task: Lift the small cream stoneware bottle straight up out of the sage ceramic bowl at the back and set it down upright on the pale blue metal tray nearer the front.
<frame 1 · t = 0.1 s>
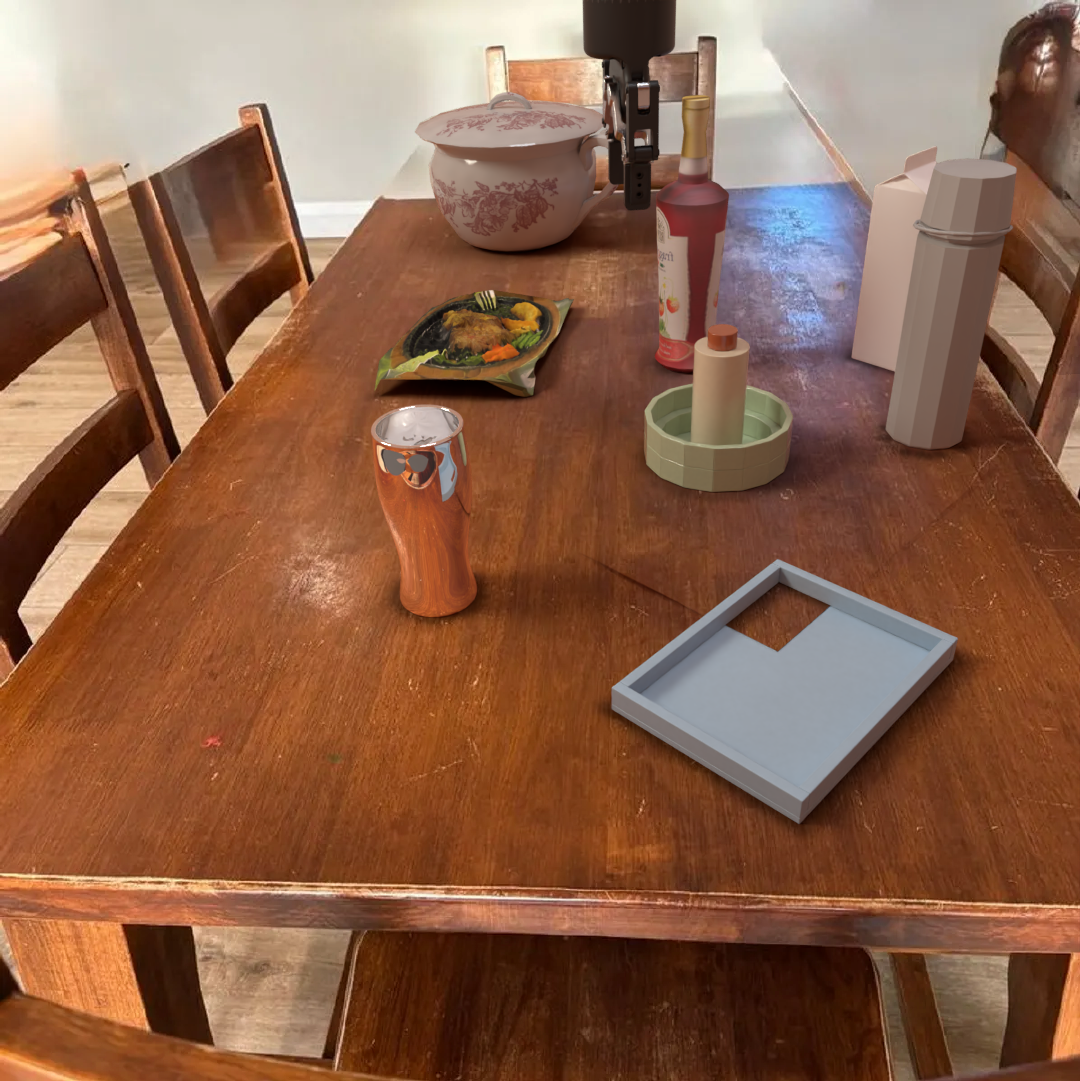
hand: (628, 195, 90), 23 cm above the table, tool pointing down, fingers open, 8 cm apart
liquor: (685, 368, 113), on the table
tray: (785, 684, 69), on the table
milk: (888, 359, 112), on the table
beer glass: (439, 596, 80), on the table
water bottle: (921, 434, 98), on the table
prepared meal: (479, 350, 120), on the table
chamber pot: (517, 240, 154), on the table
bottle: (715, 455, 95), point 1 cm above the table, touching bowl
bowl: (715, 460, 95), on the table
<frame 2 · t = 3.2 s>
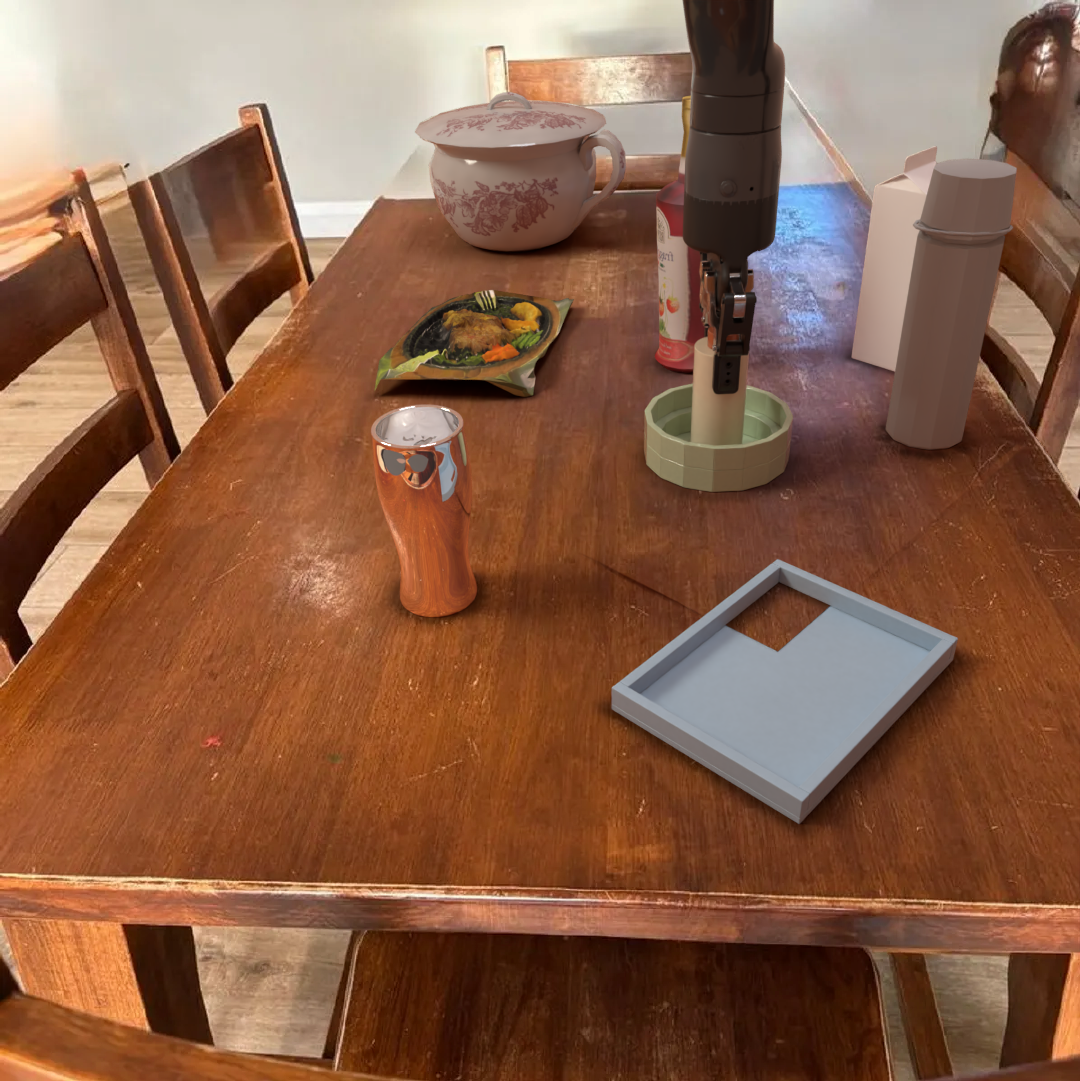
hand: (719, 378, 90), 8 cm above the table, tool pointing down, fingers closed on bottle, 4 cm apart
bottle: (715, 455, 95), point 1 cm above the table, touching bowl, gripper
everything else where it was.
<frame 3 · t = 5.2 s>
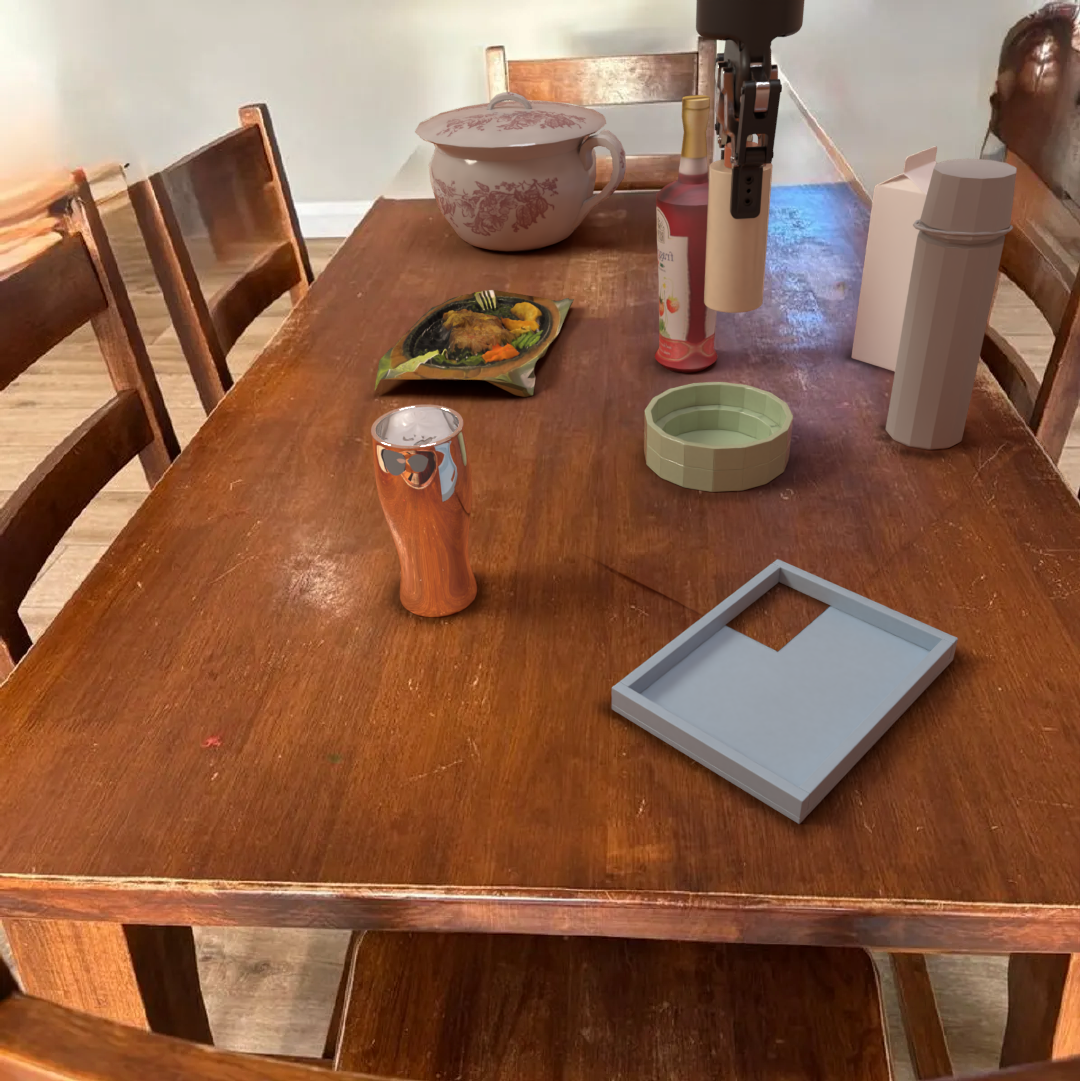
hand: (738, 206, 79), 24 cm above the table, tool pointing down, fingers closed on bottle, 4 cm apart
bottle: (733, 302, 84), point 17 cm above the table, touching gripper
everything else where it was.
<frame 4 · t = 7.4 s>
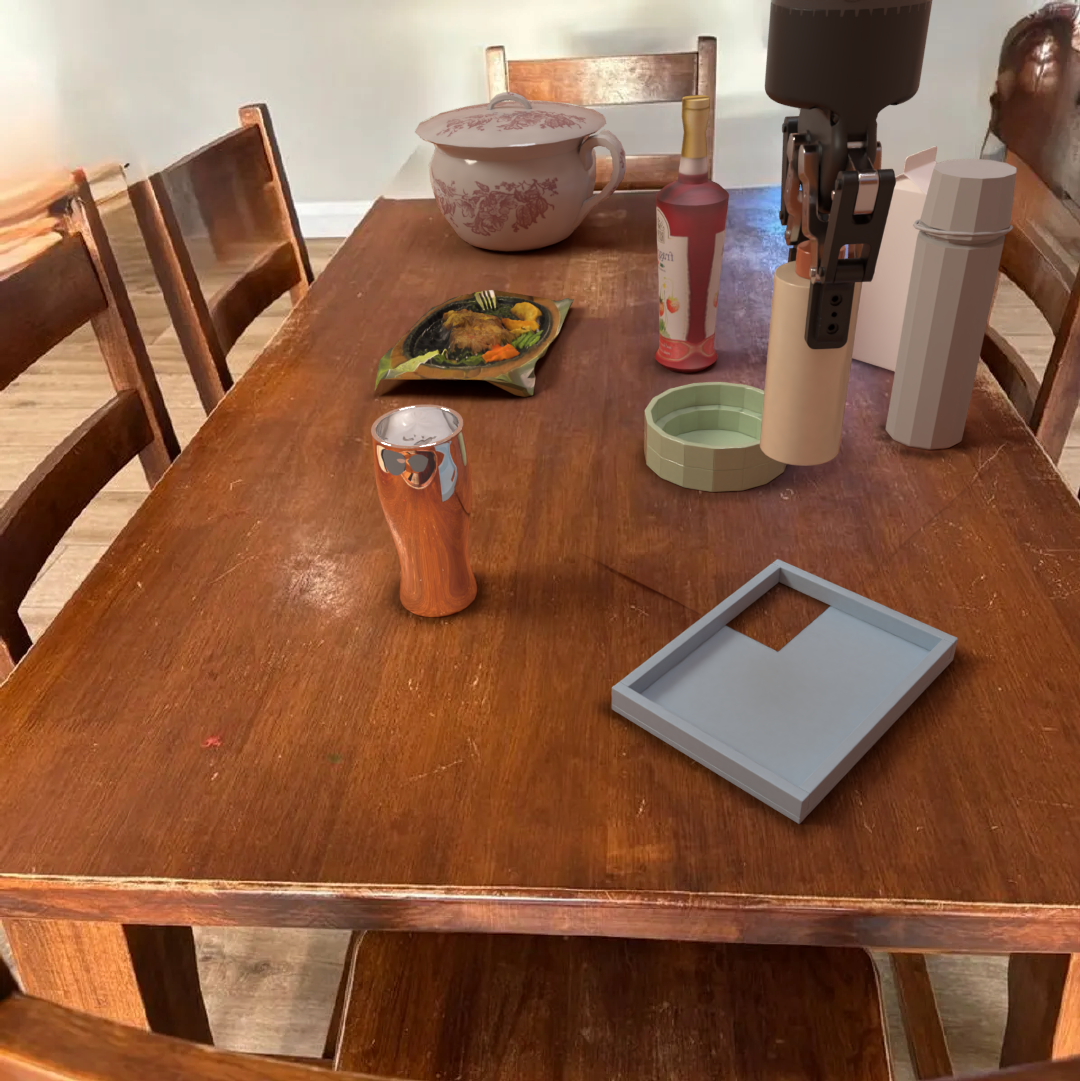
hand: (813, 326, 58), 25 cm above the table, tool pointing down, fingers closed on bottle, 4 cm apart
bottle: (799, 446, 62), point 17 cm above the table, touching gripper
everything else where it was.
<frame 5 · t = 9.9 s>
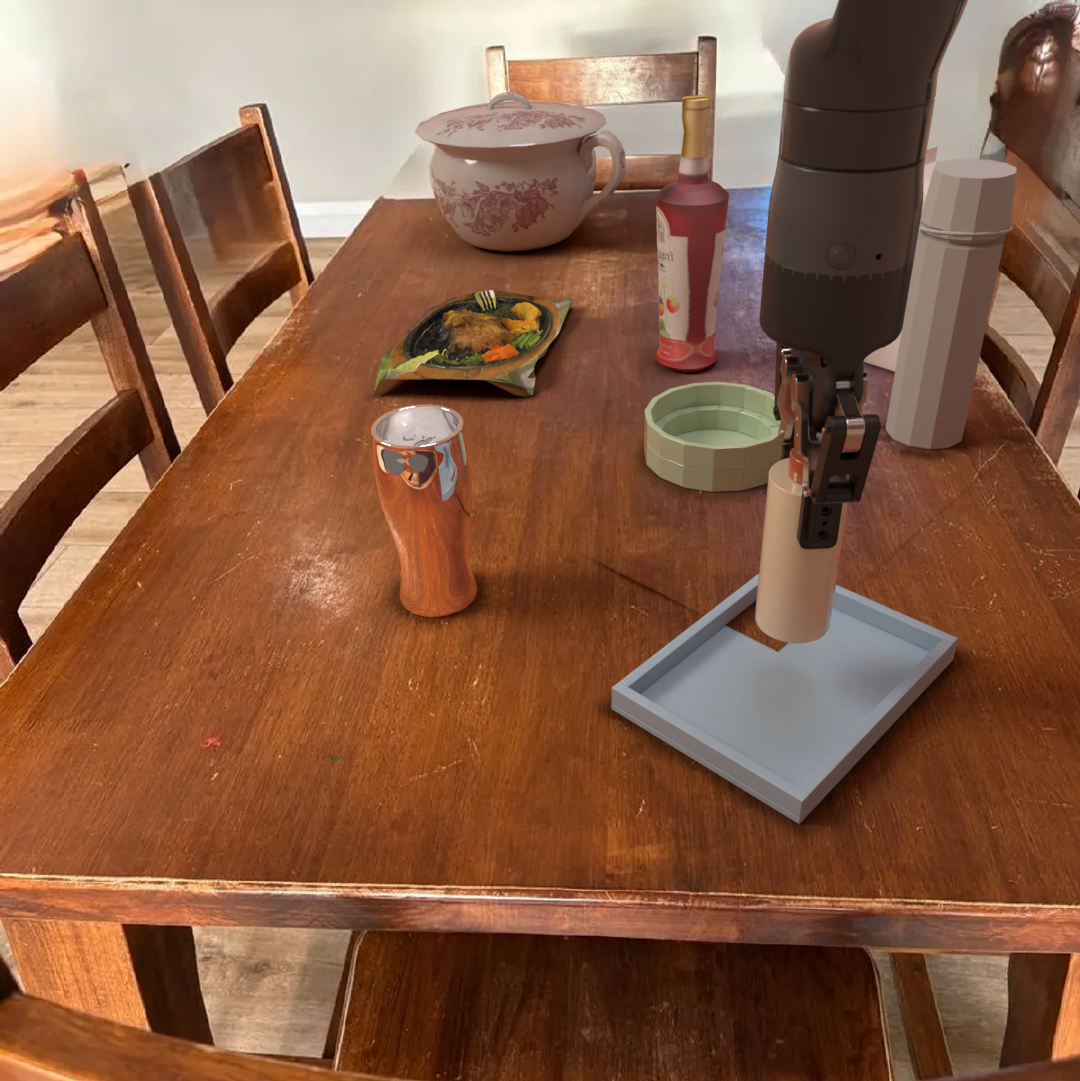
hand: (805, 519, 62), 13 cm above the table, tool pointing down, fingers closed on bottle, 4 cm apart
bottle: (792, 620, 66), point 6 cm above the table, touching gripper
everything else where it was.
when the fingers open (8 cm above the table, at t = 11.6 s): bottle stays where it is, resting on tray.
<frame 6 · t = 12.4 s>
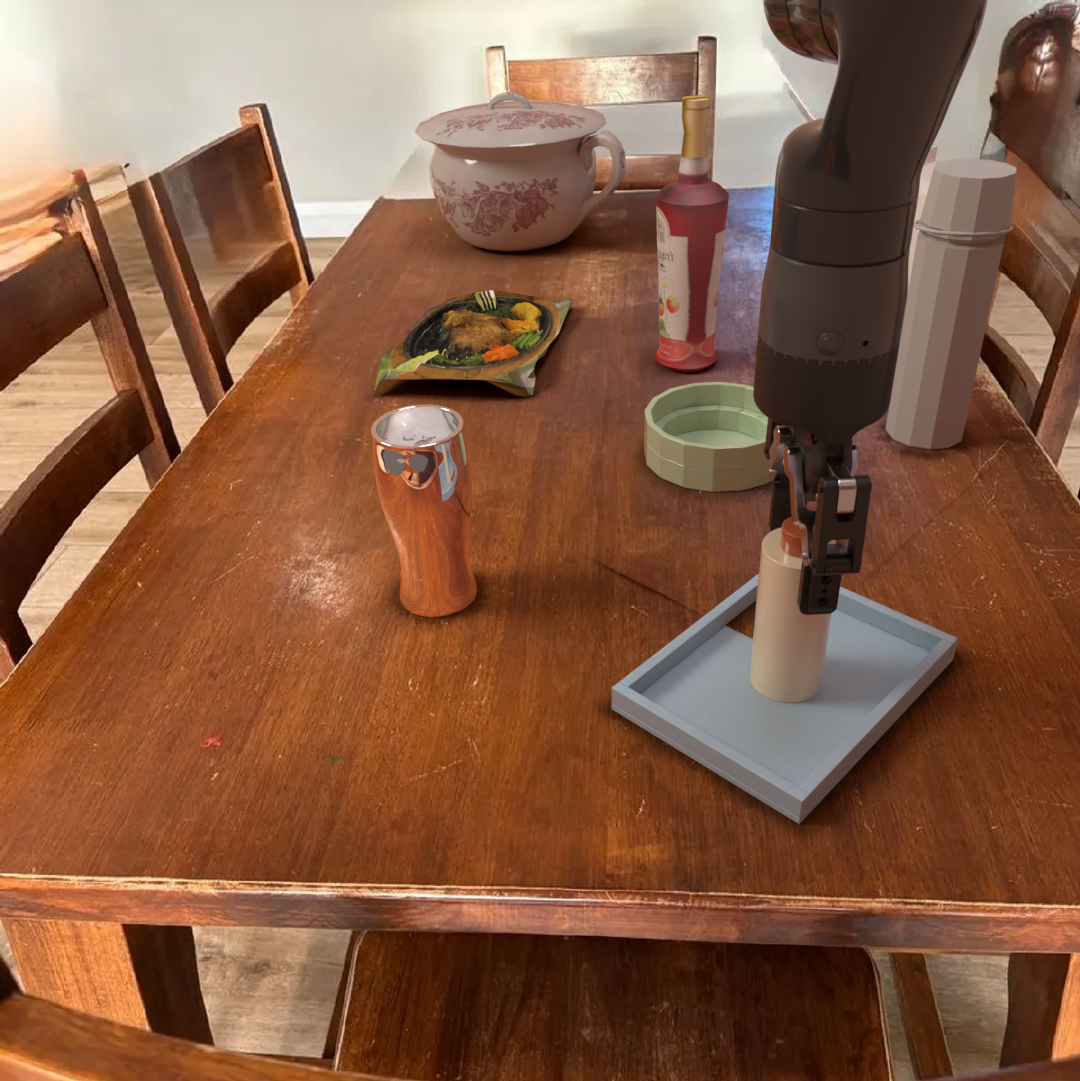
hand: (799, 569, 64), 10 cm above the table, tool pointing down, fingers open, 8 cm apart
bottle: (785, 679, 69), resting on tray
everything else where it was.
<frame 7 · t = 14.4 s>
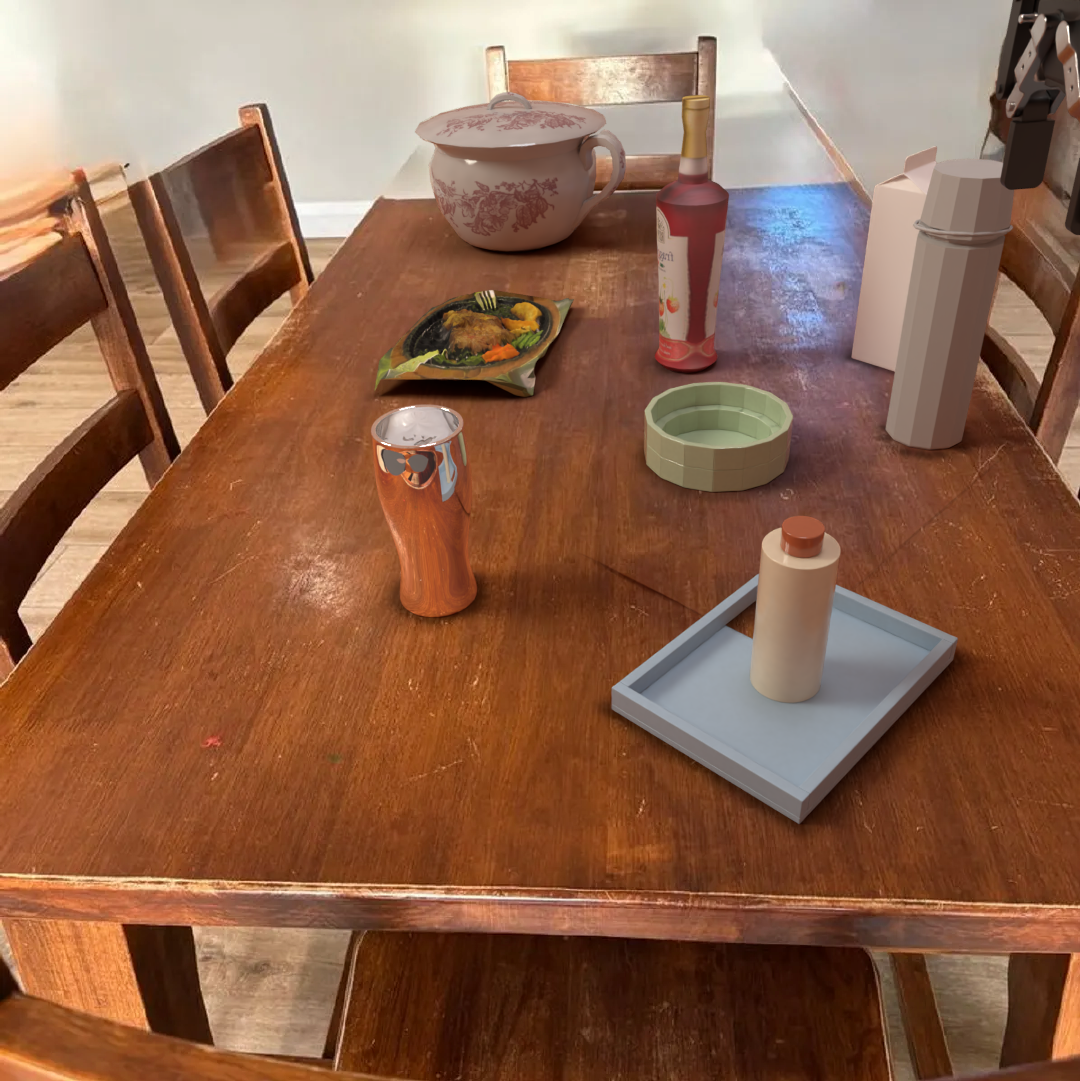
hand: (1051, 208, 56), 31 cm above the table, tool pointing down, fingers open, 8 cm apart
nothing on the table moved.
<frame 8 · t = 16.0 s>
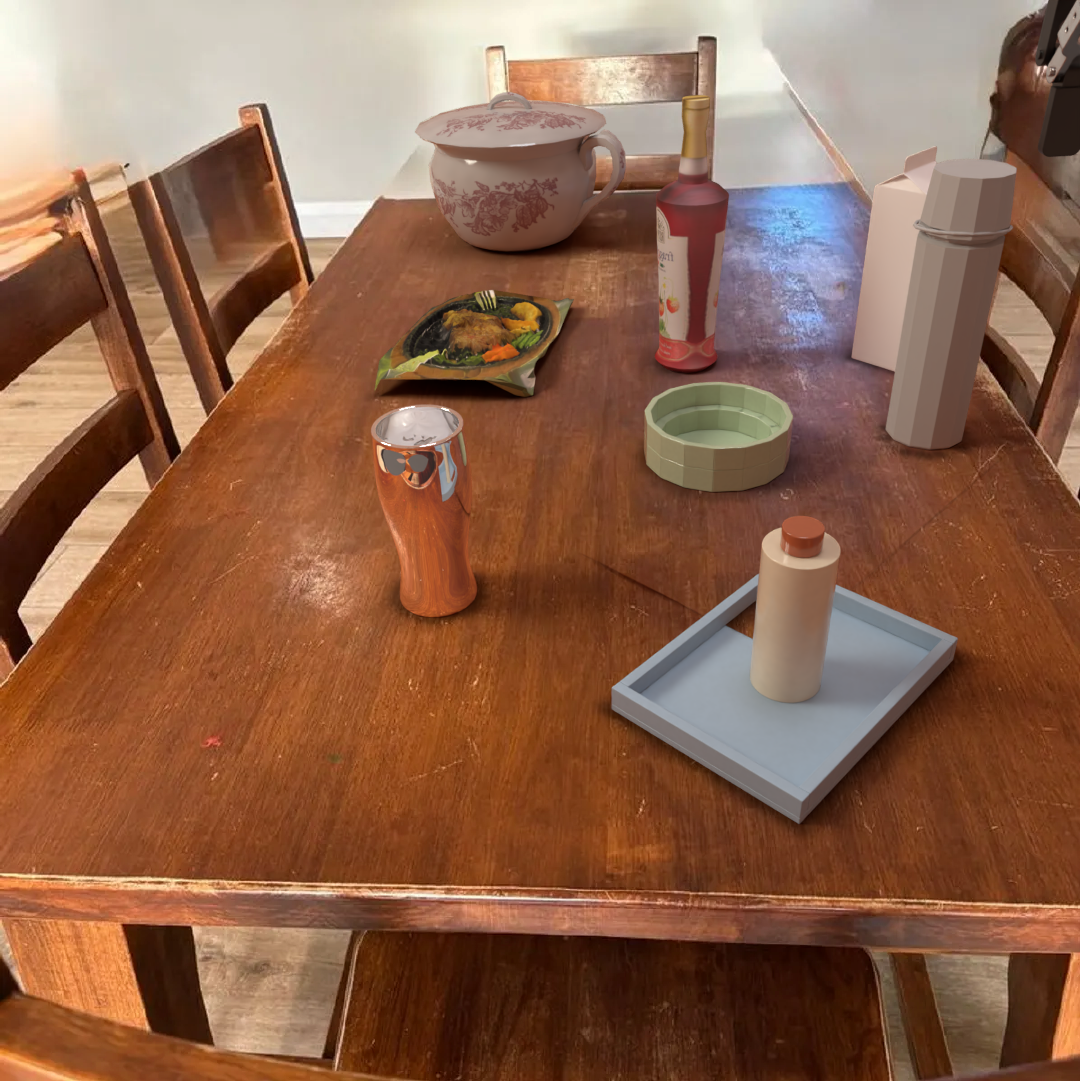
nothing on the table moved.
at the end: bottle inside the target area in the tray (0.1 cm from its centre), point 0.5 cm above the tray's base; bottle tilted 0°; the gripper is holding nothing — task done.
